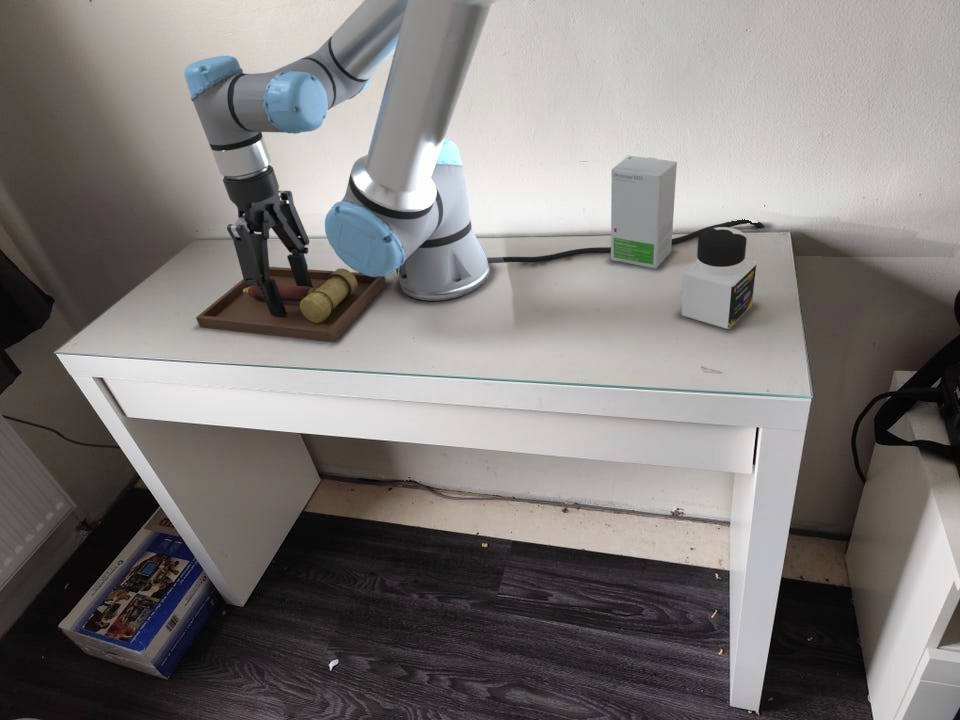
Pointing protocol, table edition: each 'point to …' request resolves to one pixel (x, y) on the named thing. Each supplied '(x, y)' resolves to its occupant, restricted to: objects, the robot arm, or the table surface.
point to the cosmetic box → (642, 210)
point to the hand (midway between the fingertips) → (292, 301)
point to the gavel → (316, 294)
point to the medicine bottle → (719, 279)
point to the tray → (289, 309)
